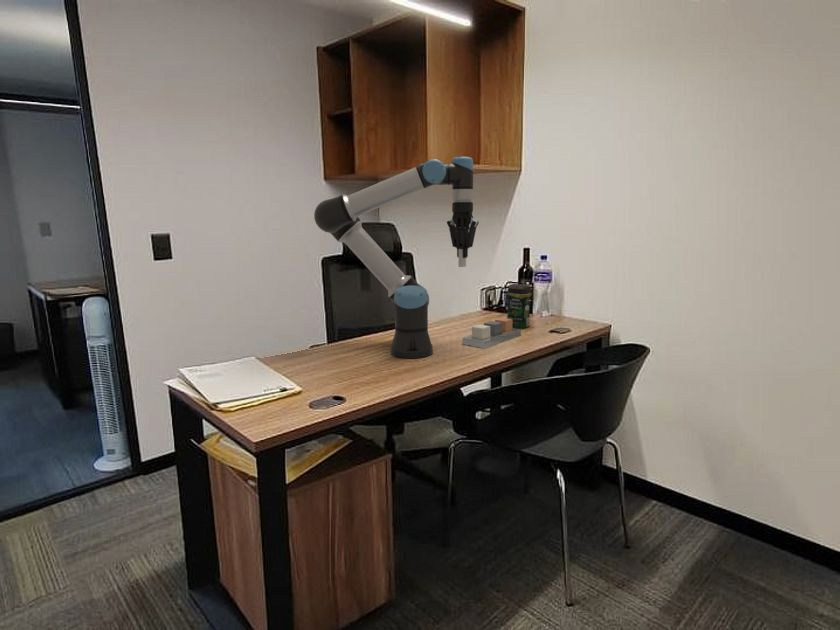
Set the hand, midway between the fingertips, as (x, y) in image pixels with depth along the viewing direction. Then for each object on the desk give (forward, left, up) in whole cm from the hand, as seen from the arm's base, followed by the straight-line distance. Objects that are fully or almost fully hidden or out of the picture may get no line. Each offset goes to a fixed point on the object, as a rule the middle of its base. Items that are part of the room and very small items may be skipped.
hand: (462, 266), depth 192 cm
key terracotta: (+20, -6, -28) cm, 35 cm away
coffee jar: (+38, -2, -30) cm, 48 cm away
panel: (+12, -6, -29) cm, 32 cm away
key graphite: (+12, -6, -28) cm, 31 cm away
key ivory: (+4, -6, -28) cm, 29 cm away
